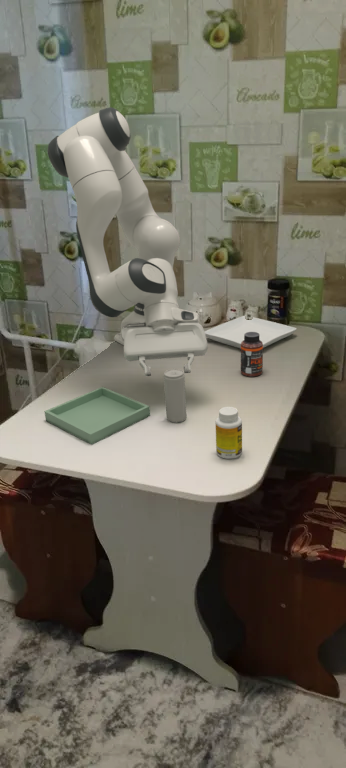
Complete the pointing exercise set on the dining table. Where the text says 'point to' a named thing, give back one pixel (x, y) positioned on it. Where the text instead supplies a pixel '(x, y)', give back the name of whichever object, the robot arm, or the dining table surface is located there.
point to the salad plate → (238, 327)
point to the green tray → (97, 414)
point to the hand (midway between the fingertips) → (167, 373)
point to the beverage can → (175, 395)
